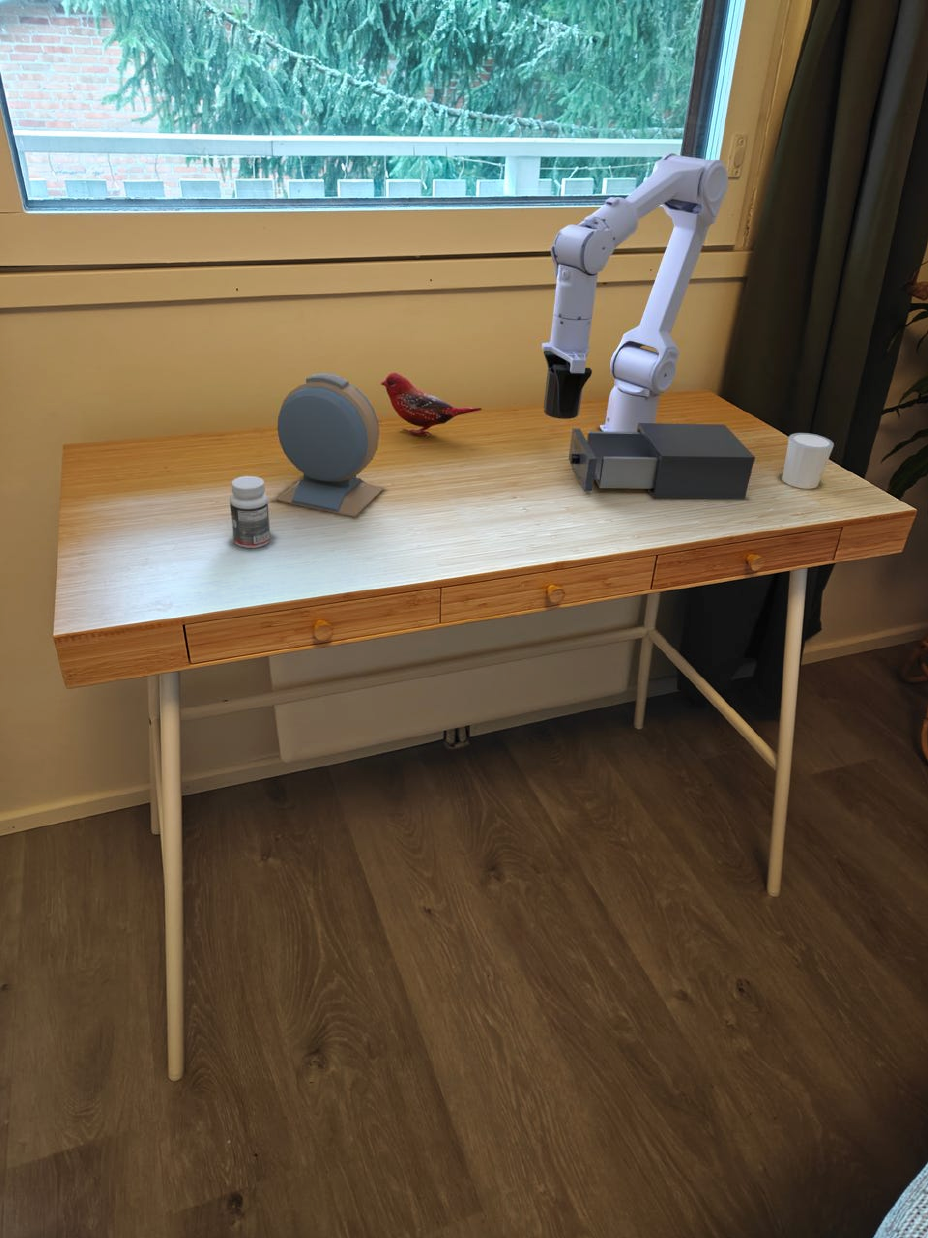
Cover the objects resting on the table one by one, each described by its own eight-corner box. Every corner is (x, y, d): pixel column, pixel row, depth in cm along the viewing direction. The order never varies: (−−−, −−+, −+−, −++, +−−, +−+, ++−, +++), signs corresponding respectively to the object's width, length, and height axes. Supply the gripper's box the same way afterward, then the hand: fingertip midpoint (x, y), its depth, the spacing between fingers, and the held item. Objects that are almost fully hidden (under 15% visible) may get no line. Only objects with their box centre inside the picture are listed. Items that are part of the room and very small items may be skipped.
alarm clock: (388, 491, 132) (390, 373, 122) (361, 518, 124) (360, 394, 114) (302, 473, 135) (296, 357, 126) (269, 499, 128) (261, 377, 118)
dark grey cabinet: (653, 498, 135) (661, 455, 131) (631, 463, 146) (637, 422, 142) (744, 499, 137) (755, 457, 133) (715, 464, 148) (724, 424, 144)
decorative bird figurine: (382, 425, 154) (383, 368, 149) (481, 441, 151) (485, 383, 145) (377, 431, 152) (377, 373, 146) (477, 447, 148) (481, 388, 143)
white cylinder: (824, 492, 140) (837, 450, 137) (780, 486, 141) (791, 445, 138) (819, 475, 146) (831, 435, 142) (776, 470, 147) (786, 429, 143)
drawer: (576, 491, 134) (581, 458, 131) (561, 458, 144) (564, 428, 141) (670, 491, 135) (677, 459, 133) (648, 459, 146) (654, 429, 143)
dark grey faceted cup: (539, 406, 140) (544, 365, 137) (572, 406, 141) (577, 365, 138) (549, 419, 136) (553, 377, 132) (582, 418, 137) (588, 376, 133)
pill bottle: (236, 531, 119) (230, 473, 114) (272, 532, 119) (268, 474, 115) (231, 549, 115) (225, 489, 110) (268, 549, 115) (264, 490, 111)
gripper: (537, 301, 136) (528, 388, 144) (555, 327, 124) (545, 421, 131) (582, 303, 137) (571, 389, 144) (604, 329, 125) (591, 422, 132)
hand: (561, 404), depth 138 cm, fingers closed on dark grey faceted cup, 5 cm apart
